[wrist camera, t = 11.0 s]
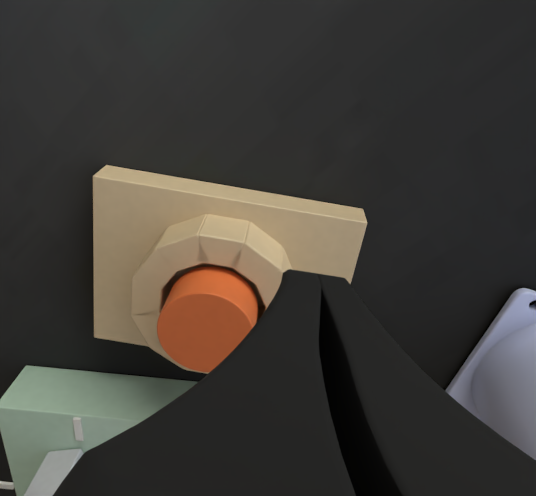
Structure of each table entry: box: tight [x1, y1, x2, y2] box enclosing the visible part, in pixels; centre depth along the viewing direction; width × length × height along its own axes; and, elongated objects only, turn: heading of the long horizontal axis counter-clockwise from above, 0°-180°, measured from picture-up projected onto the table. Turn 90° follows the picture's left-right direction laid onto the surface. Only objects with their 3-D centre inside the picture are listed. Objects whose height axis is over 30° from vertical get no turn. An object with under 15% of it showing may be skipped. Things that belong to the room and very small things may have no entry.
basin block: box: [0, 365, 198, 496], centre depth 26 cm, size 14×11×3 cm
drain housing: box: [93, 165, 367, 374], centre depth 21 cm, size 11×8×4 cm
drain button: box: [157, 267, 258, 372], centre depth 19 cm, size 4×4×2 cm
